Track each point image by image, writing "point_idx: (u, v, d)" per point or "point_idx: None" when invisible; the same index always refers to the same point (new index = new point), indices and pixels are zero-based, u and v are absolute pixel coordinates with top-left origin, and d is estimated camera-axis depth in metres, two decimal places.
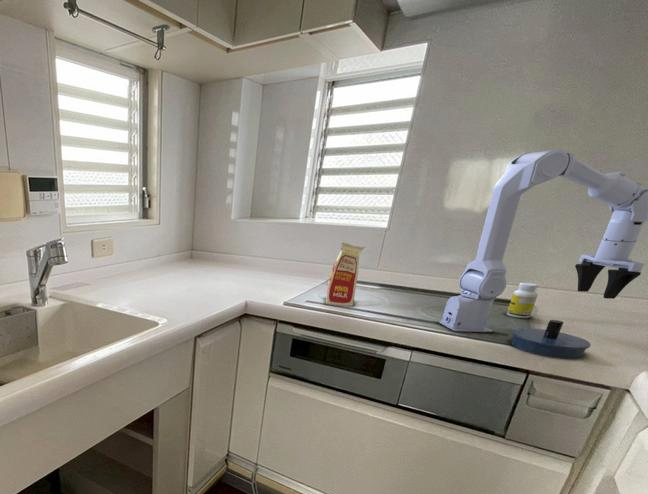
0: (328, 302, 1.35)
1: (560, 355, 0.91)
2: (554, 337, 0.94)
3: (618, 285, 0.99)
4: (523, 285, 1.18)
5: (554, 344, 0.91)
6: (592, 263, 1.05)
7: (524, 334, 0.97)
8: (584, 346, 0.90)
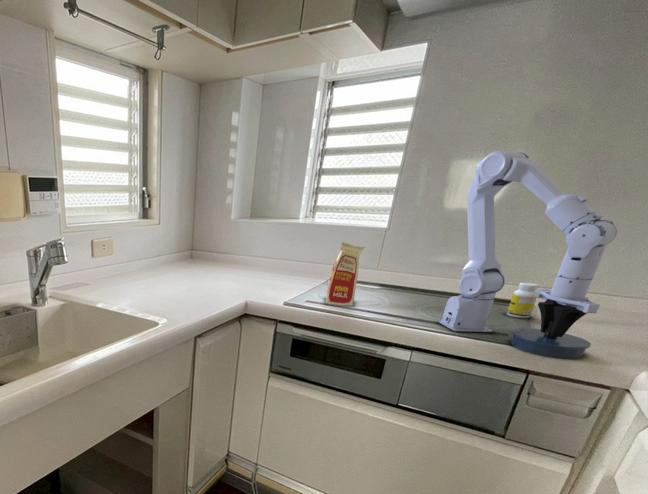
0: (328, 302, 1.35)
1: (560, 355, 0.91)
2: (554, 337, 0.94)
3: (565, 323, 0.92)
4: (523, 285, 1.18)
5: (554, 344, 0.91)
6: (556, 302, 0.94)
7: (524, 334, 0.98)
8: (584, 346, 0.90)
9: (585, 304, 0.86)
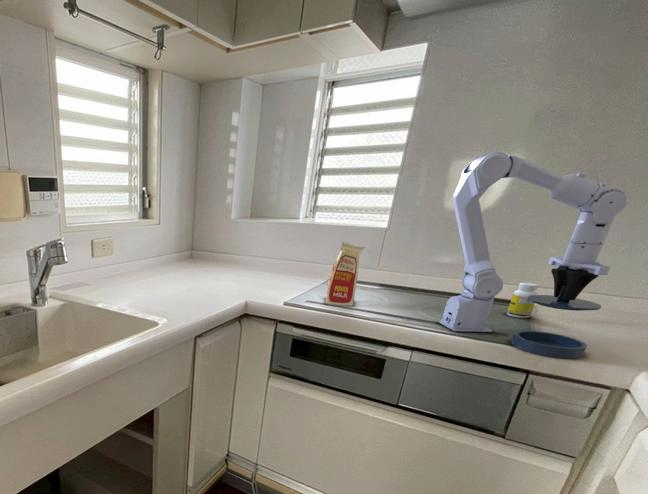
0: (328, 302, 1.35)
1: (560, 355, 0.91)
2: (567, 300, 1.01)
3: (577, 287, 0.98)
4: (523, 285, 1.18)
5: (567, 306, 0.97)
6: (568, 268, 1.00)
7: (538, 299, 1.04)
8: (595, 307, 0.96)
9: (596, 266, 0.92)
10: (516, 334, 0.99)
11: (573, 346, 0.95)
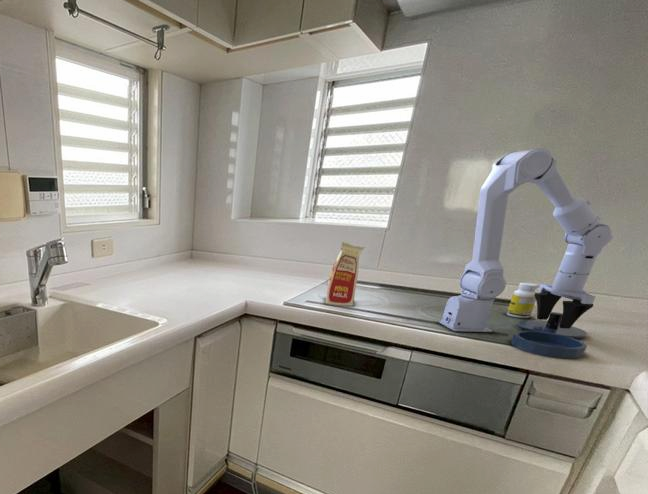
0: (328, 302, 1.35)
1: (560, 355, 0.91)
2: (555, 327, 1.07)
3: (572, 316, 1.02)
4: (523, 285, 1.18)
5: (555, 333, 1.03)
6: (550, 293, 1.08)
7: (528, 325, 1.10)
8: (581, 335, 1.02)
9: (583, 296, 0.98)
10: (516, 334, 0.99)
11: (573, 346, 0.95)
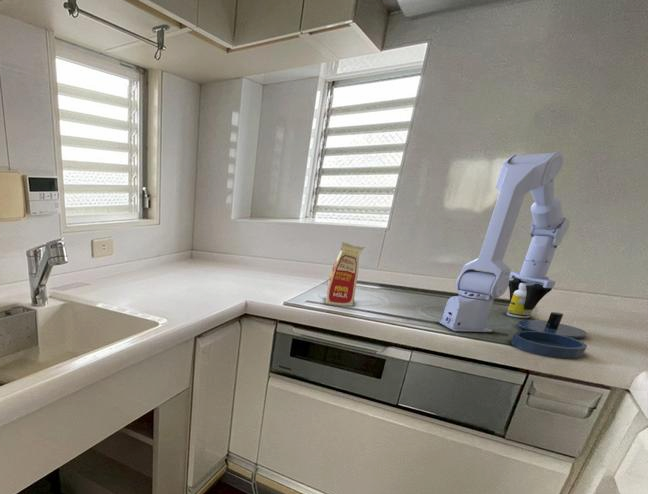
0: (328, 302, 1.35)
1: (560, 355, 0.91)
2: (555, 327, 1.07)
3: (534, 299, 1.16)
4: (523, 285, 1.18)
5: (555, 333, 1.03)
6: (520, 280, 1.21)
7: (528, 325, 1.10)
8: (581, 335, 1.02)
9: (544, 281, 1.12)
10: (516, 334, 0.99)
11: (573, 346, 0.95)
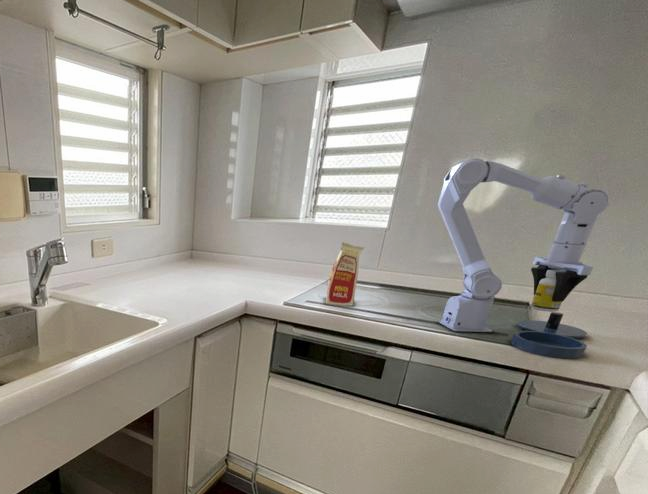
0: (328, 302, 1.35)
1: (560, 355, 0.91)
2: (555, 327, 1.07)
3: (565, 288, 0.98)
4: (552, 272, 0.99)
5: (555, 333, 1.03)
6: (547, 266, 1.02)
7: (528, 325, 1.10)
8: (581, 335, 1.02)
9: (579, 267, 0.93)
10: (516, 334, 0.99)
11: (573, 346, 0.95)
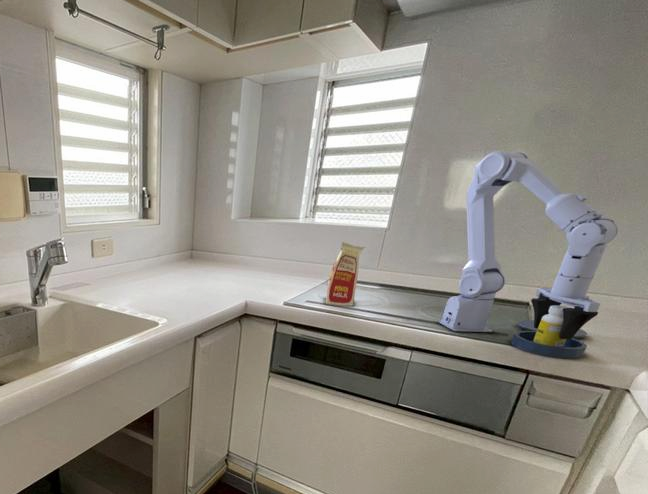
0: (328, 302, 1.35)
1: (560, 355, 0.91)
2: None
3: (574, 325, 0.90)
4: (555, 309, 0.93)
5: None
6: (548, 298, 0.96)
7: (528, 325, 1.10)
8: (581, 335, 1.02)
9: (586, 303, 0.86)
10: (516, 334, 0.99)
11: (573, 346, 0.95)
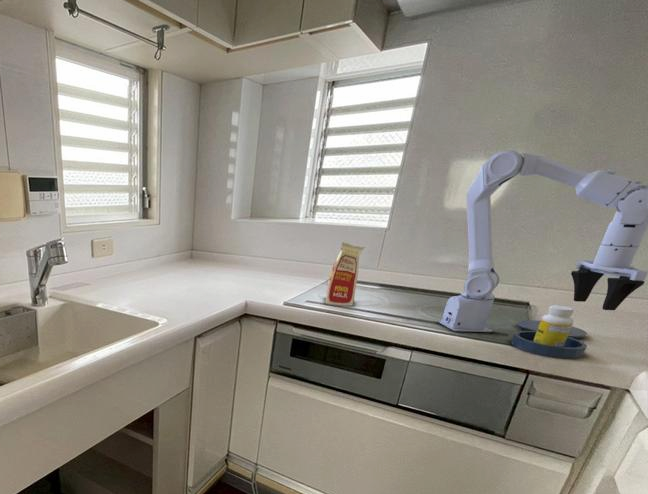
0: (328, 302, 1.35)
1: (560, 355, 0.91)
2: None
3: (618, 296, 0.88)
4: (555, 309, 0.93)
5: None
6: (590, 270, 0.94)
7: (528, 325, 1.10)
8: (581, 335, 1.02)
9: (632, 271, 0.85)
10: (516, 334, 0.99)
11: (573, 346, 0.95)
